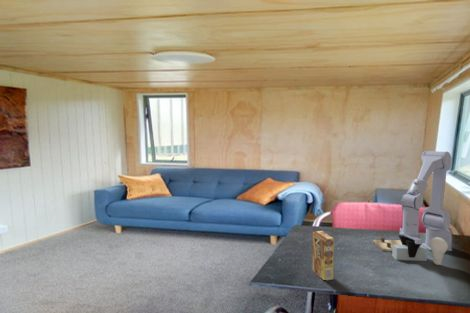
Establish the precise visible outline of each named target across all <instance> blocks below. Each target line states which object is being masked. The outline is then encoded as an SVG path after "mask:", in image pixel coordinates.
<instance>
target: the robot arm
mask: <svg viewBox="0 0 470 313" xmlns="http://www.w3.org/2000/svg"><path fill="white" fill-rule="evenodd" d="M452 158H453V157H452V155H451V153H450V152H449V151H437V150H435V151H434V150H433V151H432V150H424V151H423V152H422V153H421V158H420V160H421V167H420V170H419V173H418V174H417V175H418V176H417V178H415V179H413V180H412V182H411V184H410V185H409V188H408V189H407V192H406V193H405V194H403V195H402V196H401V199H400V205H401V211H402V227H400V228H399V235H398V237H399V240H401V242H402V245H407V246H408V255H409V257H412V258H415V256H416V253H417V250H418V248H419V247H420V245H422V246H424V247H425V248H427V250H428V251H432V250H431V249H430V246H429V242H430V240H431V239H433V238H436V237H438V238H442V239H444V240H445V241H446V243H447V245H448V248H447V250H446V252H452V251H453V249H452V240H453V239H452V238H453V235H452V232H451V230H450V229H449V228H450V226H451V216H450V215H451V214H450V212H449V211H447V209H445V208H444V203H445V202H444V201H445V192H446V190H445V189H446V182H447V181H446V180H447V172H448V171H450V170H451V167H452ZM431 175H432V182H431V193H430V202H429V206H428V207H426V208H424V209H423V213H422V216H421V223H422V225H423V226H424V228H425V242H422V238H420V234H419V226H420V225H419V221H420V209H422V208H423V203H424V195H425V193H426V191H427V188H428V186H429V185H428V183H427V181H428V180H429V179H430V177H431Z"/></svg>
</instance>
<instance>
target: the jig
mask: <svg viewBox="0 0 470 313" xmlns="http://www.w3.org/2000/svg"><path fill="white" fill-rule="evenodd" d="M372 243H374V244H375V245H376V247H378V249H380V251H382V252H391V253H392V249H393V245H402V242H401V240H400V239H385V238H384V237H380V239H372Z"/></svg>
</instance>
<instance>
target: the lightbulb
mask: <svg viewBox="0 0 470 313" xmlns="http://www.w3.org/2000/svg"><path fill="white" fill-rule="evenodd" d="M429 246H430V249H431V250H430V251H431V252H432V258H433V263H434V264H435V265H436V266H440V265H441V264H442V261H443V257H444V254H445V253H446V252H447V251H446V250H447V248H448V245H447V243H446V241H445V240H444V239H442V238H438V237H436V238H433V239H431V240H430V242H429Z"/></svg>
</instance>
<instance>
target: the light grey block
mask: <svg viewBox="0 0 470 313" xmlns="http://www.w3.org/2000/svg"><path fill="white" fill-rule="evenodd" d="M391 255H392V257H393V259H394V260H396V261H419V262H420V261H423V262H424V261H425V262H427V260H428V248H426V247H425V246H423V245H422V244H421V245H420V247H419V248H418V250H417V253H416V256H415V258H412V257H409V255H408V246H407V245H393V249H392V252H391Z"/></svg>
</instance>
